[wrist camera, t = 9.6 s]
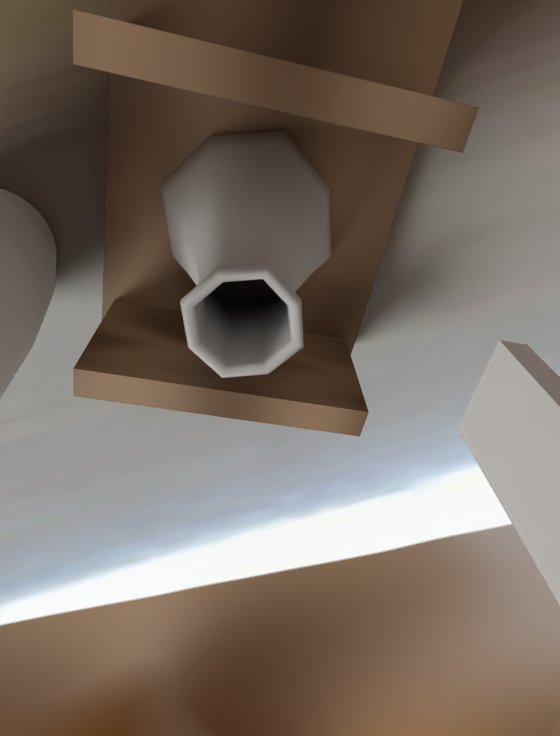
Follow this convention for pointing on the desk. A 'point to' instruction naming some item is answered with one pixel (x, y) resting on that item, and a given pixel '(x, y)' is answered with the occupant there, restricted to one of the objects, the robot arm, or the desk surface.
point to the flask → (246, 247)
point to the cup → (22, 280)
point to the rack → (249, 115)
